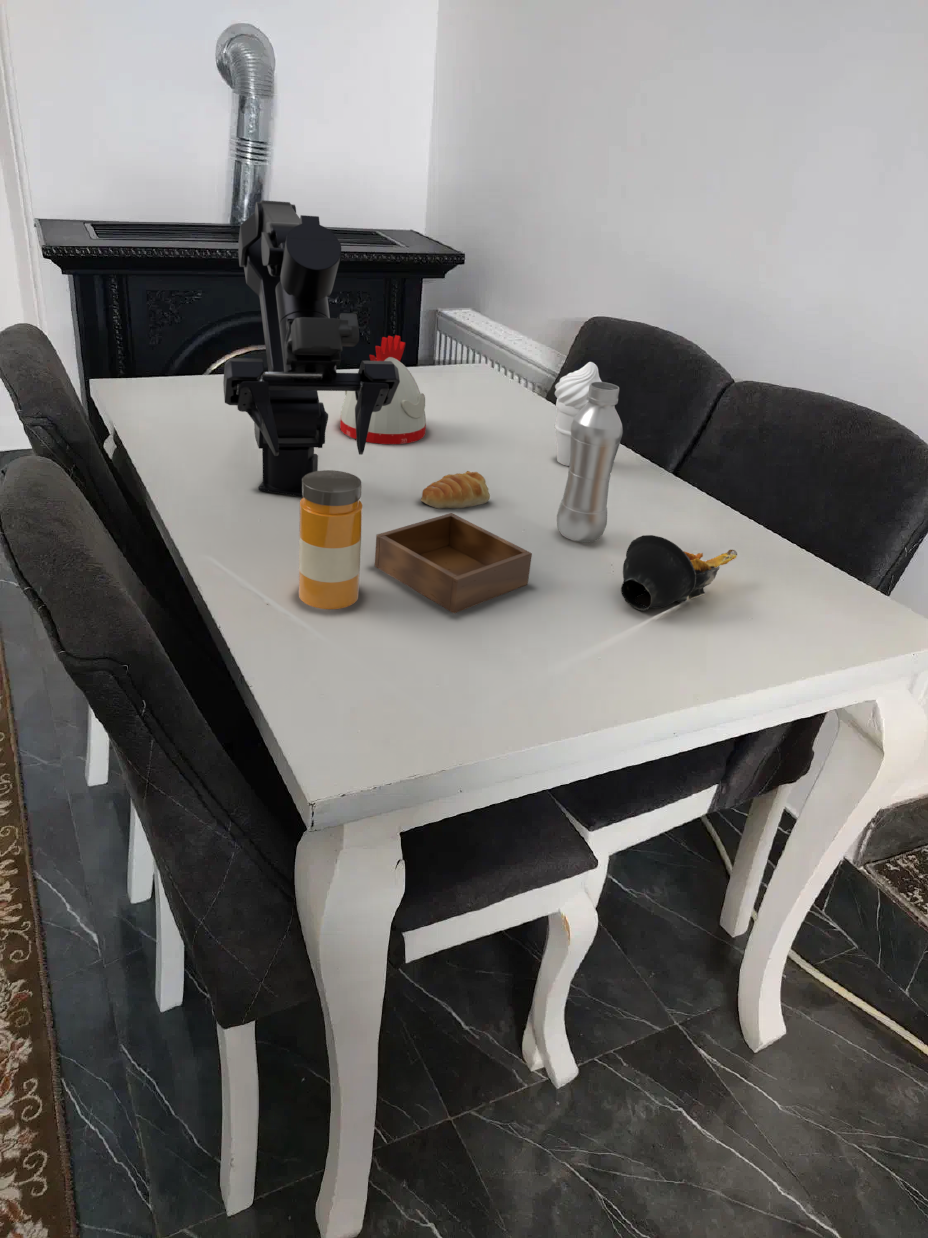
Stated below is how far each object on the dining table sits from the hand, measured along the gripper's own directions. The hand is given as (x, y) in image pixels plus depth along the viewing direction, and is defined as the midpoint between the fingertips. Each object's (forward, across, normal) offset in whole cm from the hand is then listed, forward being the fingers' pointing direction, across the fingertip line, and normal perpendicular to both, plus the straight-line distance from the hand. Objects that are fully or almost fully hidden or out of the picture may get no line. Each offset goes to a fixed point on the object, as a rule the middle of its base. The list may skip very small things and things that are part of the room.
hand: (319, 453), depth 100 cm
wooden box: (+13, +15, +6) cm, 21 cm away
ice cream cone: (-13, +45, +32) cm, 57 cm away
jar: (+15, 0, +4) cm, 16 cm away
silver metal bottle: (+7, +35, +13) cm, 38 cm away
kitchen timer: (-24, +19, +43) cm, 53 cm away
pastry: (-2, +22, +22) cm, 31 cm away
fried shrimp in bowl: (+19, +40, +1) cm, 44 cm away
